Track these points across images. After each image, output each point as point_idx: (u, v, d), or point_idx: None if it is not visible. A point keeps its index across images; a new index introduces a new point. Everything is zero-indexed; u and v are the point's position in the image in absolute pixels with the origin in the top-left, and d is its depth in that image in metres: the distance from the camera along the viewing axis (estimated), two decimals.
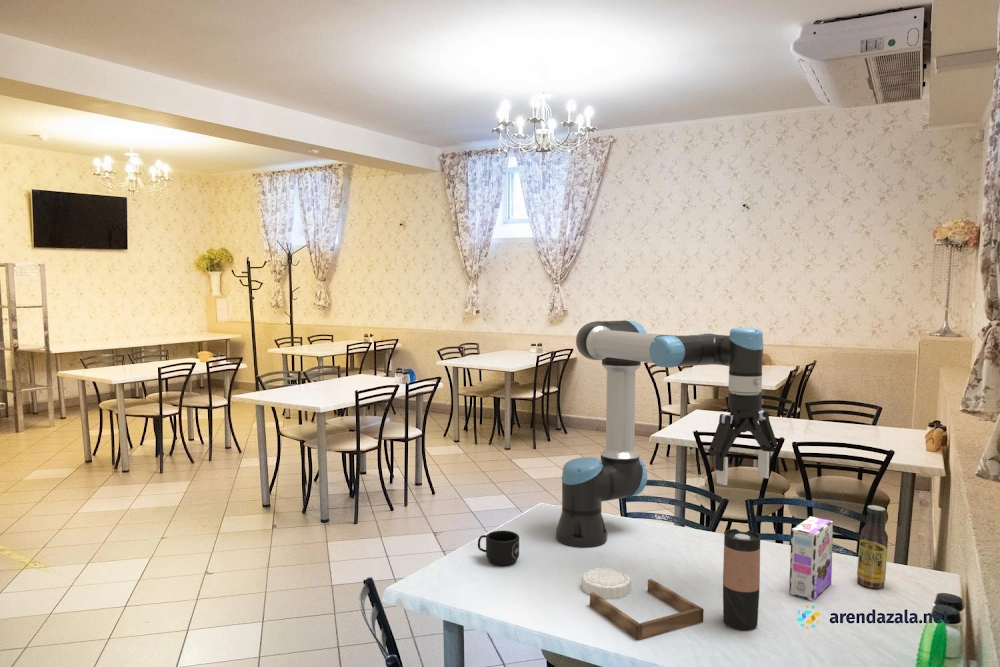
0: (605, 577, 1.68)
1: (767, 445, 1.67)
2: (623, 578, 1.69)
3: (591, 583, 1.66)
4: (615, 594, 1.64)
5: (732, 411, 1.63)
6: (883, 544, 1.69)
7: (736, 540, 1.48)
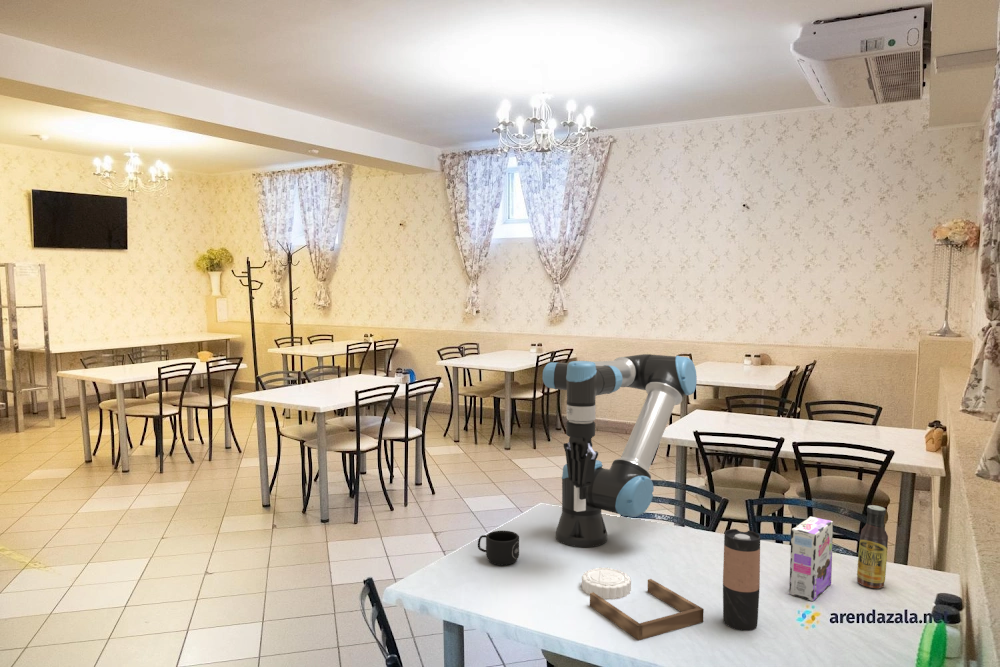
0: (605, 577, 1.68)
1: (578, 479, 1.78)
2: (623, 578, 1.69)
3: (591, 583, 1.66)
4: (615, 594, 1.64)
5: None
6: (883, 544, 1.69)
7: (736, 540, 1.48)
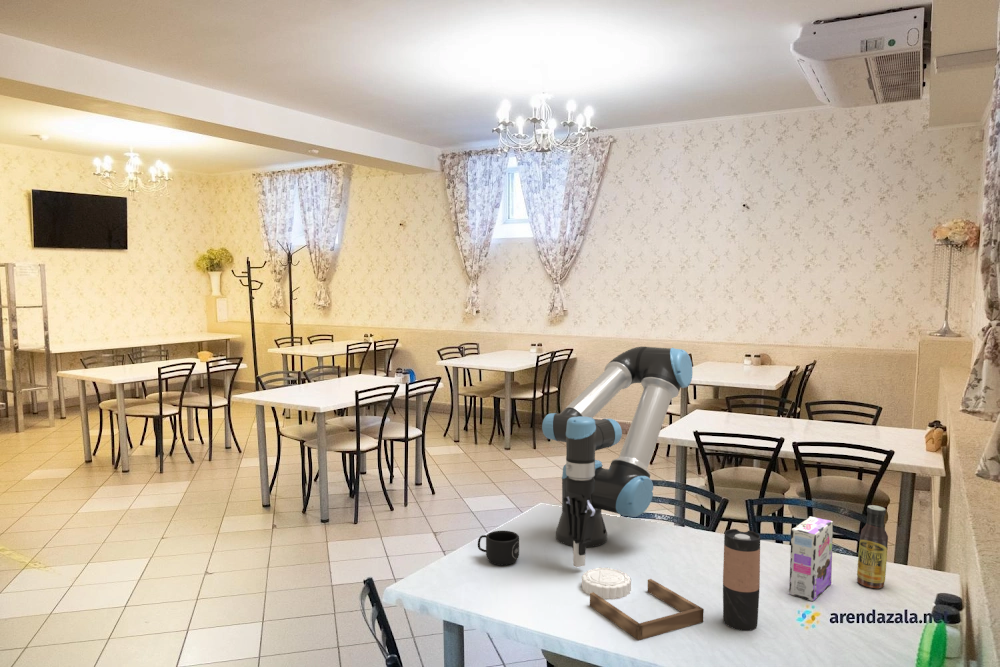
0: (605, 577, 1.68)
1: (577, 535, 1.78)
2: (623, 578, 1.69)
3: (591, 583, 1.66)
4: (615, 594, 1.64)
5: None
6: (883, 544, 1.69)
7: (736, 540, 1.48)
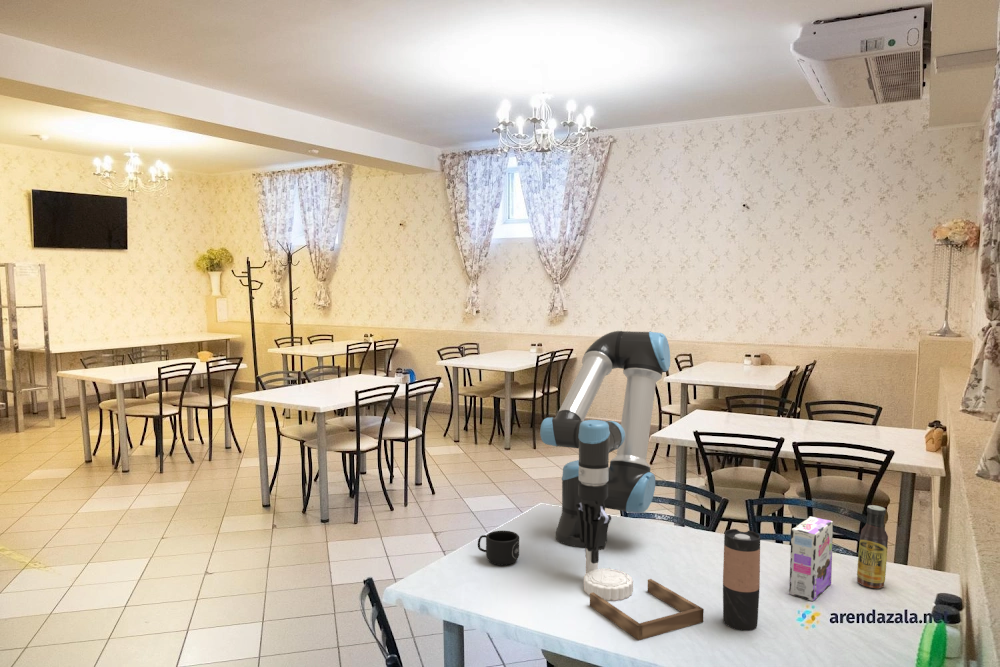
0: (607, 578, 1.67)
1: (590, 542, 1.73)
2: (625, 579, 1.68)
3: (593, 584, 1.65)
4: (617, 595, 1.63)
5: None
6: (883, 544, 1.69)
7: (736, 540, 1.48)
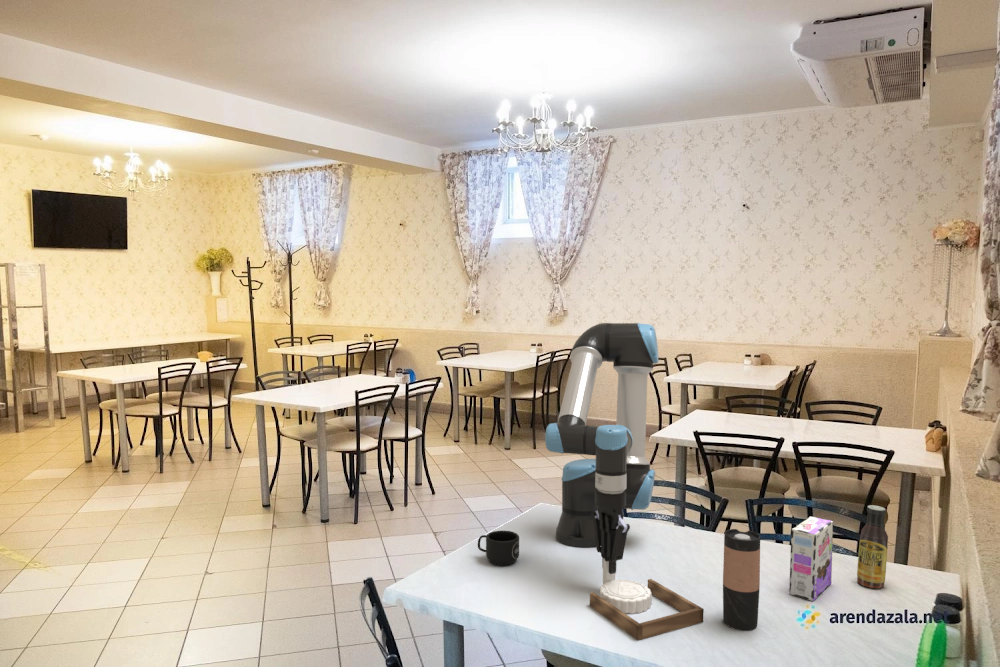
0: (624, 590, 1.61)
1: (607, 552, 1.66)
2: (643, 591, 1.61)
3: (609, 596, 1.59)
4: (634, 608, 1.56)
5: None
6: (883, 544, 1.69)
7: (736, 540, 1.48)
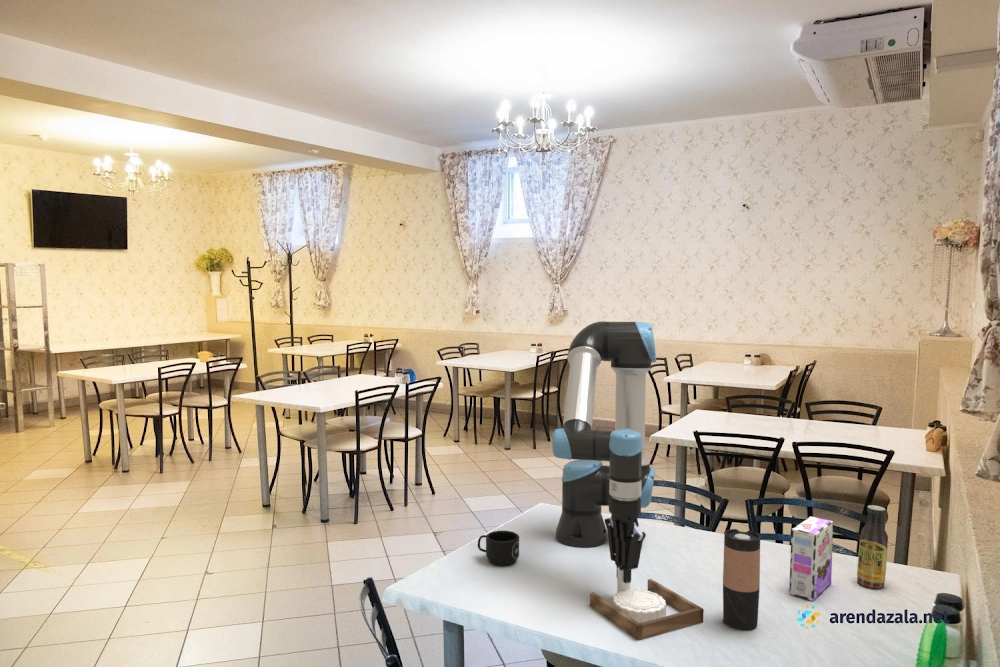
0: (637, 600, 1.56)
1: (622, 561, 1.62)
2: (657, 602, 1.56)
3: (621, 606, 1.54)
4: (647, 619, 1.51)
5: None
6: (883, 544, 1.69)
7: (736, 540, 1.48)
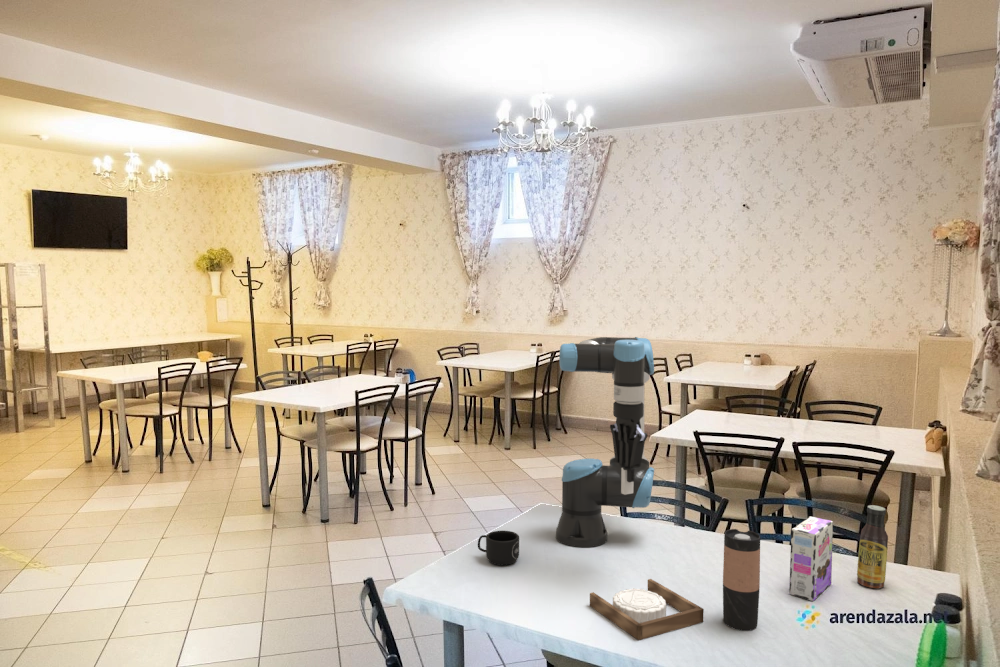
0: (637, 600, 1.56)
1: (626, 461, 1.72)
2: (657, 602, 1.56)
3: (621, 605, 1.54)
4: (647, 619, 1.51)
5: None
6: (883, 544, 1.69)
7: (736, 540, 1.48)
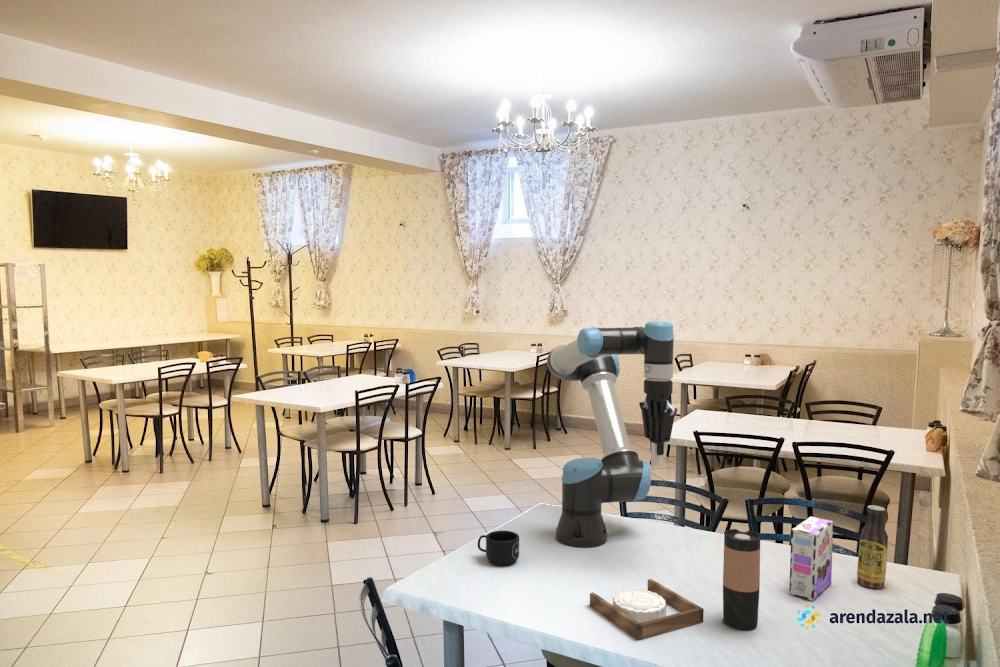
0: (637, 600, 1.56)
1: (656, 435, 1.83)
2: (657, 602, 1.56)
3: (621, 605, 1.54)
4: (647, 619, 1.51)
5: None
6: (883, 544, 1.69)
7: (736, 540, 1.48)
